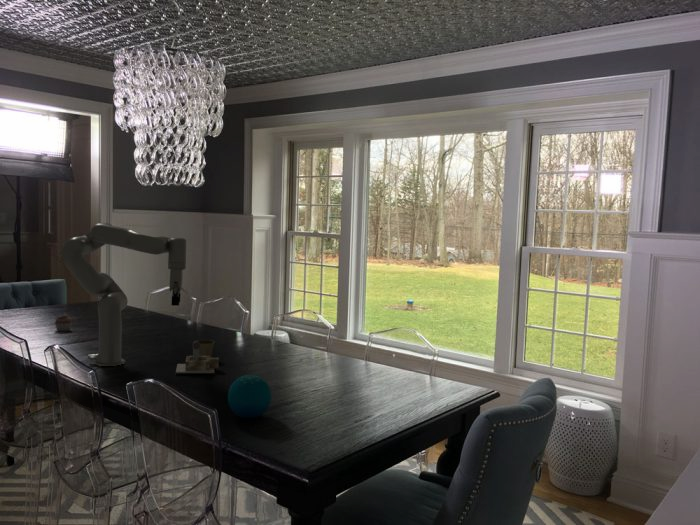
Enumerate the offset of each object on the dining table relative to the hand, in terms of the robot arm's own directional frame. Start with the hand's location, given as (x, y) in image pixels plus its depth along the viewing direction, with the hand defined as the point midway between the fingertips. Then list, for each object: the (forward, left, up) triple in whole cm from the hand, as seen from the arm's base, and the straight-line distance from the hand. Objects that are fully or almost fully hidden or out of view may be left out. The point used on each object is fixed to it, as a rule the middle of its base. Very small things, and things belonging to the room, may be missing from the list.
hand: (175, 303), depth 271 cm
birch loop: (+12, -9, -27) cm, 31 cm away
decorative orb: (+29, -71, -28) cm, 82 cm away
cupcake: (-63, +76, -28) cm, 103 cm away
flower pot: (+13, +10, -28) cm, 33 cm away
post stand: (+10, -9, -28) cm, 31 cm away
